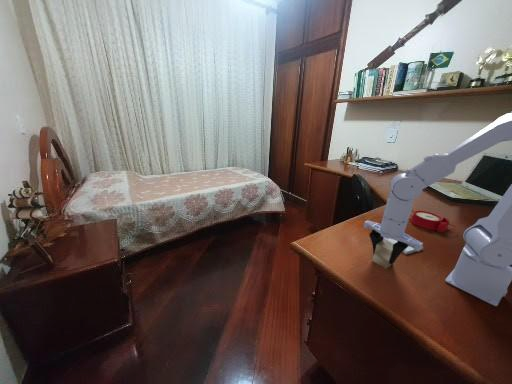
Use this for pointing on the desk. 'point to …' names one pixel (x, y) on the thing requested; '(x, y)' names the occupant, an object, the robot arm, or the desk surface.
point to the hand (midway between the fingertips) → (383, 258)
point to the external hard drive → (407, 250)
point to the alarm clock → (430, 221)
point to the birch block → (383, 253)
